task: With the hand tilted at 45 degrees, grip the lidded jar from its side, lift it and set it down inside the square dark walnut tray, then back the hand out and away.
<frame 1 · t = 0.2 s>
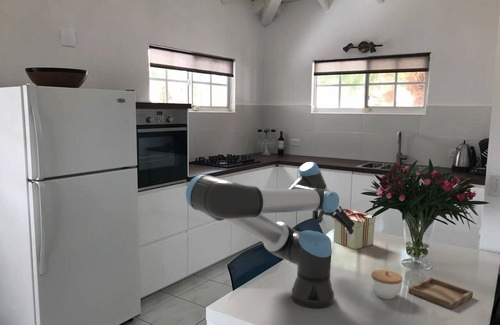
hand: (339, 235, 169), 15 cm above the table, tool tilted 35°, fingers open, 13 cm apart
lidded jar: (385, 295, 147), on the table
walnut tray: (440, 295, 149), on the table
gift box: (352, 244, 205), on the table
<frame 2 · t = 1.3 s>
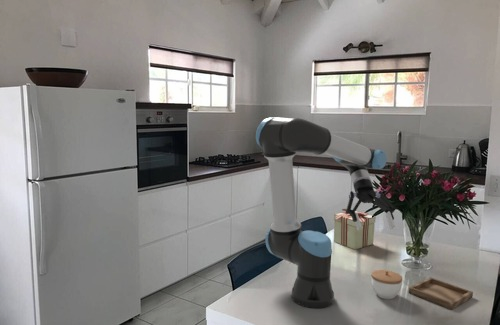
hand: (376, 228, 155), 22 cm above the table, tool tilted 45°, fingers open, 13 cm apart
nothing on the table moved.
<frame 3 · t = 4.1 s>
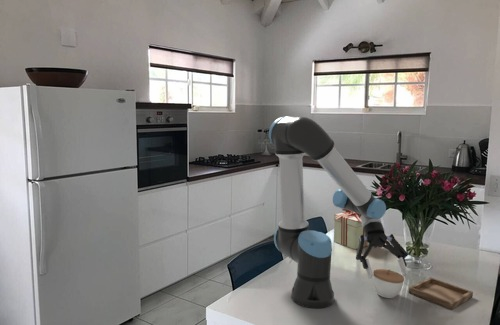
hand: (388, 276, 148), 7 cm above the table, tool tilted 45°, fingers open, 13 cm apart
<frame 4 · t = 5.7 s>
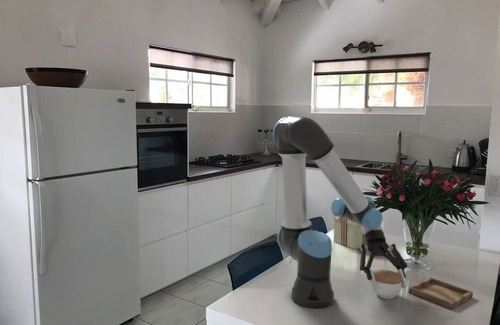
hand: (389, 288, 144), 4 cm above the table, tool tilted 45°, fingers closed on lidded jar, 11 cm apart
lidded jar: (385, 295, 147), on the table, touching gripper
everything else where it was.
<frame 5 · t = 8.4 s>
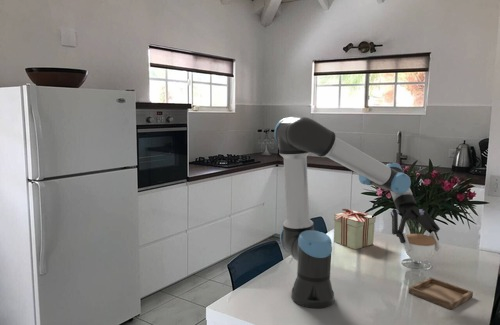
hand: (423, 250, 144), 18 cm above the table, tool tilted 45°, fingers closed on lidded jar, 11 cm apart
lidded jar: (418, 258, 147), point 14 cm above the table, touching gripper
everything else where it was.
when the fingers open (6 cm above the table, at t = 11.5 s): lidded jar drops 1 cm, resting on walnut tray.
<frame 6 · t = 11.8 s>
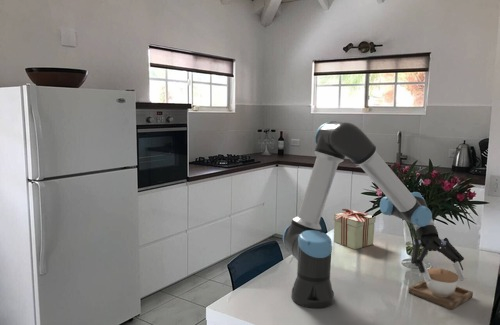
hand: (445, 280, 145), 7 cm above the table, tool tilted 45°, fingers open, 13 cm apart
lidded jar: (440, 294, 148), resting on walnut tray
everything else where it was.
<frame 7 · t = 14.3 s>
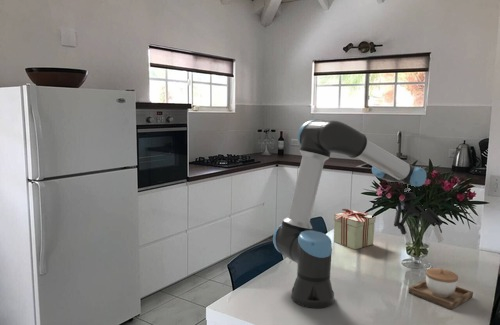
hand: (425, 241, 157), 17 cm above the table, tool tilted 45°, fingers open, 13 cm apart
nothing on the table moved.
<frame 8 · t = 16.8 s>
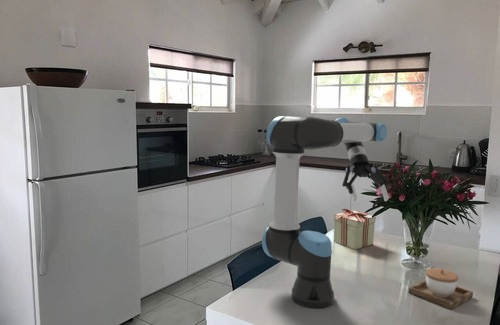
hand: (371, 199, 163), 32 cm above the table, tool tilted 45°, fingers open, 13 cm apart
nothing on the table moved.
at the end: lidded jar inside the target area on the walnut tray (0.1 cm from its centre), point 0.4 cm above the walnut tray's base; lidded jar tilted 0°; the gripper is holding nothing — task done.
